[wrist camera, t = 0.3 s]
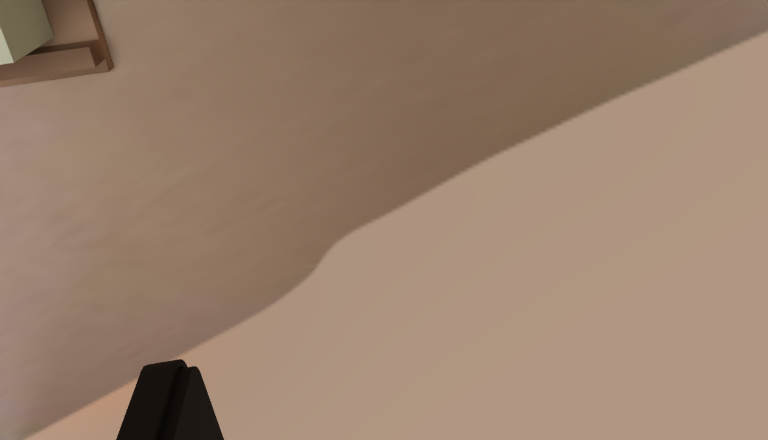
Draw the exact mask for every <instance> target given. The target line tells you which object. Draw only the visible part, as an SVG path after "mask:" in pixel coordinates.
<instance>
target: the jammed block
mask: <svg viewBox="0 0 768 440" xmlns="http://www.w3.org/2000/svg"><path fill="white" fill-rule="evenodd" d="M53 37H54V35H53V32H52V29H51V26H50V24H49V21H48V18H47V15H46V12H45V9H44V6H43V3H42V1H41V0H0V65H2V64H9V63H14V62H16V61H18V60H19V59H21V58H22V57H24V56H25V55H27V54H28V53H30V52H32V51H33V50H35V49H36V48H38V47H39V46H41V45H42V44H44V43H46V42H47V41H49V40H50V39H52V38H53Z"/></svg>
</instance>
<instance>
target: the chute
mask: <svg viewBox="0 0 768 440" xmlns="http://www.w3.org/2000/svg"><path fill="white" fill-rule="evenodd" d="M41 1H42V3H43V6H44V9H45V12H46V15H47V18H48V21H49V24H50V26H51V29H52V32H53V35H54V37H53V38H52V39H50V40H49V41H47V42H46V43H44V44H42V45H41V46H39V47H38V48H36V49H35V50H33V51H32V52H30V53H28V54H27V55H25V56H24V57H22V58H21V59H19V60H18V61H16V62H14V63H9V64H2V65H0V87H4V86H11V85H18V84H25V83H32V82H39V81H46V80H53V79H60V78H67V77H74V76H81V75H88V74H95V73H102V72H109V71H110V70H111V69H112V68H113V64H112V61H111V57H110V54H109V51H108V48H107V45H106V41H105V38H104V35H103V32H102V29H101V26H100V22H99V19H98V16H97V13H96V10H95V6H94V3H93V0H41Z"/></svg>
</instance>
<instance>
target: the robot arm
mask: <svg viewBox="0 0 768 440" xmlns="http://www.w3.org/2000/svg"><path fill="white" fill-rule="evenodd" d="M116 440H224V438H223V436H222V433H221V430H220V427H219V424H218V421H217V419H216V416H215V413H214V410H213V407H212V404H211V401H210V399H209V396H208V393H207V390H206V387H205V384H204V382H203V379H202V376H201V373H200V371H199V369H198V368H197V367H196V366H194V367H187V365H186V363H185V362H184V361H183V360H181V359H179V360H173V361H167V362H161V363H155V364H149V365H146V366H144V367H143V369H142V371H141V373H140V376H139V378H138V381H137V384H136V387H135V390H134V392H133V395H132V398H131V401H130V403H129V406H128V409H127V412H126V414H125V417H124V420H123V422H122V425H121V428H120V431H119V434H118V436H117V439H116Z"/></svg>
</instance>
